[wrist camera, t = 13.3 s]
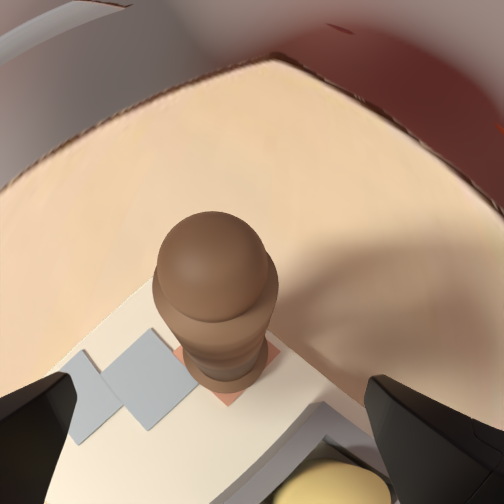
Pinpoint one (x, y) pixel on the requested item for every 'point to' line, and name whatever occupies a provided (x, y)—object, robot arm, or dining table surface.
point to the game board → (194, 421)
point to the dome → (331, 485)
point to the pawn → (217, 298)
